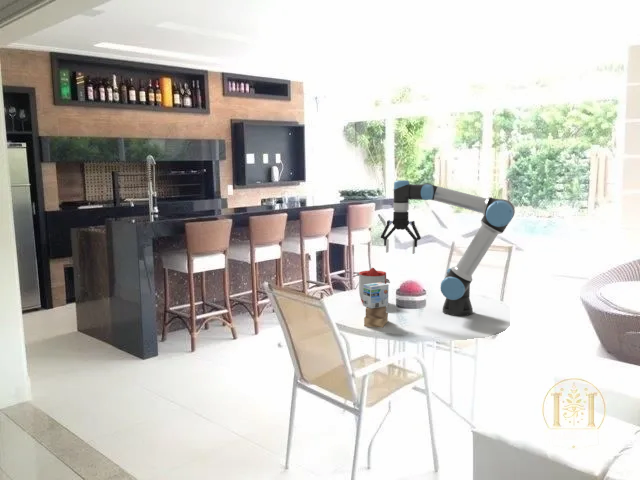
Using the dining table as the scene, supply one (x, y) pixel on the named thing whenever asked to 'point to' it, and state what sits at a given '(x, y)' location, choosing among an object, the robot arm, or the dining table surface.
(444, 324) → the dining table surface
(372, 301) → the light bulb box
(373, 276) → the citrus juicer
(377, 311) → the tower top
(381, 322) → the tower base
